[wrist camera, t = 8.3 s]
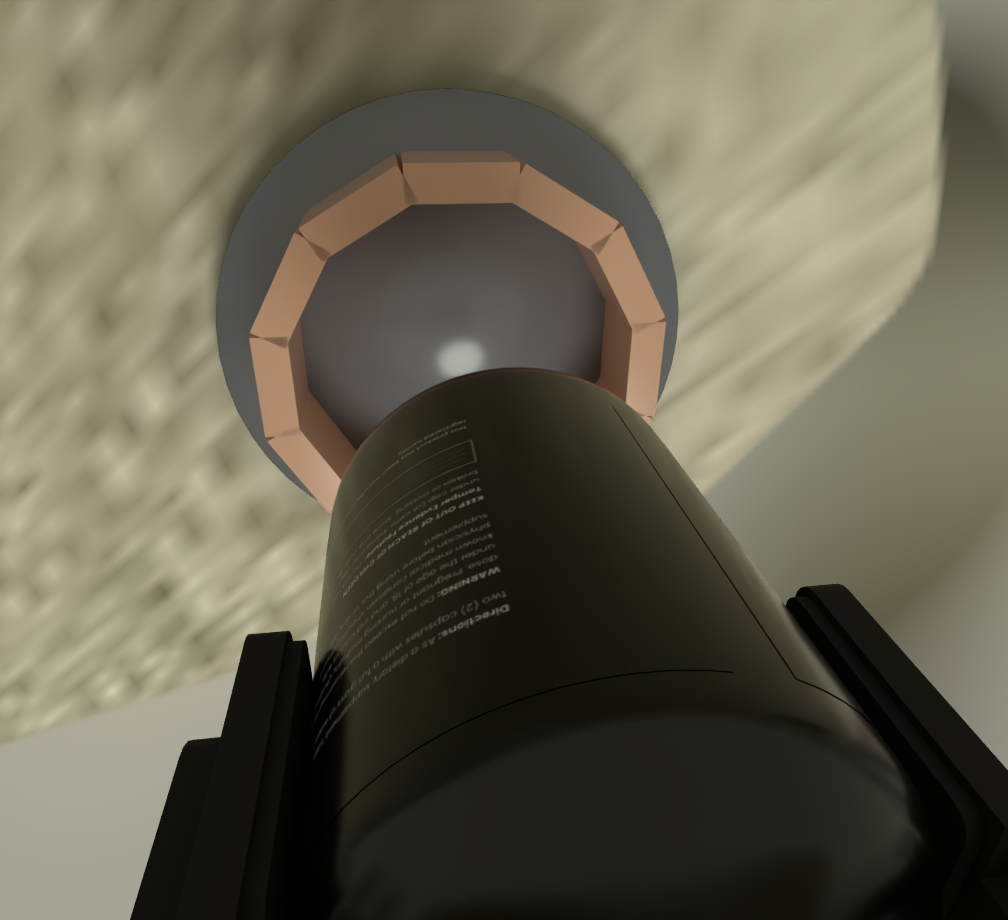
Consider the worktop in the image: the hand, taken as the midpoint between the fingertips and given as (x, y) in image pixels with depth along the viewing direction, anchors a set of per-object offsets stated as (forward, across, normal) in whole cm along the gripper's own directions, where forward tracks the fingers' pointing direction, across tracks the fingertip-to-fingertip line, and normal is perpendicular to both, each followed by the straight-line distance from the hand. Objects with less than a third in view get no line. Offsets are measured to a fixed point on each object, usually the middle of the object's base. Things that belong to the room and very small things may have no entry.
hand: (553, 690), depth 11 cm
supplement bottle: (+5, 0, 0) cm, 5 cm away
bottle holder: (+17, 0, 0) cm, 17 cm away
